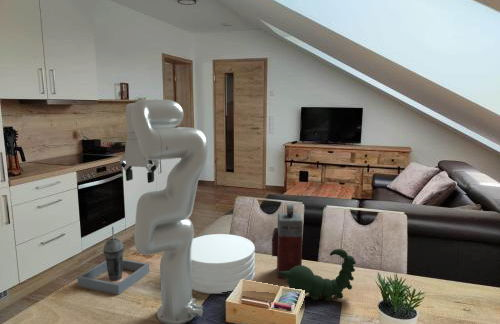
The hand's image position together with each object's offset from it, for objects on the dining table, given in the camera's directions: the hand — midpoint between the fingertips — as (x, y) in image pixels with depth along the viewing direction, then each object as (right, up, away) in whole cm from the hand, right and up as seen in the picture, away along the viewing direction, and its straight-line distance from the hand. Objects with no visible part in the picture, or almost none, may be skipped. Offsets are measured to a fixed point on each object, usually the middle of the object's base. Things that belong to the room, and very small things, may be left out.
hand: (140, 181), depth 138 cm
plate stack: (+30, -37, +2) cm, 48 cm away
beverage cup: (-9, -37, -2) cm, 38 cm away
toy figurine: (+65, -40, -14) cm, 77 cm away
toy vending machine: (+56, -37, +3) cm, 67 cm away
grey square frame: (-9, -37, -1) cm, 38 cm away
